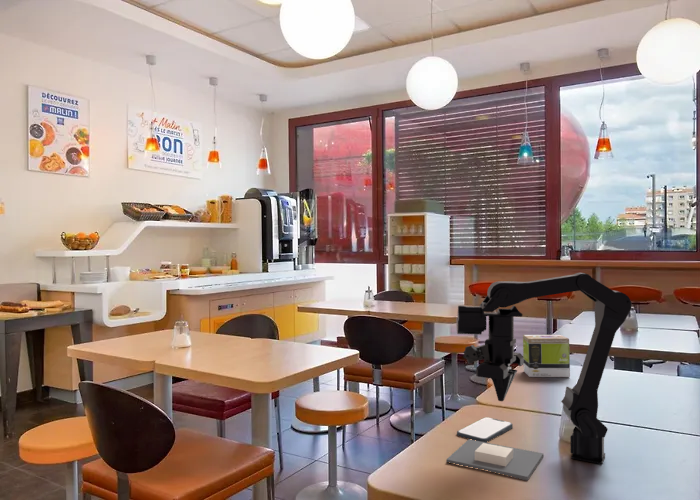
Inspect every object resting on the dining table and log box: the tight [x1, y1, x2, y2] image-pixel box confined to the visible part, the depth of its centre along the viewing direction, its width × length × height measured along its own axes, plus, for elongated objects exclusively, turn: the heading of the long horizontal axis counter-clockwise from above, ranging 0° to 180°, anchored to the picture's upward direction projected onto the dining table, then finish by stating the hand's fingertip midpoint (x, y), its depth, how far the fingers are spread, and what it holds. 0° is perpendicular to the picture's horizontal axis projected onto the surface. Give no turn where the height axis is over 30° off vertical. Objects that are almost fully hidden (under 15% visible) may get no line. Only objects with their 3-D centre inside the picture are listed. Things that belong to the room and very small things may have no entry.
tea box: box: [522, 334, 571, 378], centre depth 207 cm, size 15×10×15 cm, turn 84°
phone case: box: [456, 416, 514, 443], centre depth 144 cm, size 9×2×16 cm
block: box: [475, 442, 513, 466], centre depth 124 cm, size 7×2×6 cm
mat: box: [445, 439, 544, 481], centre depth 125 cm, size 18×15×1 cm
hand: (501, 400), depth 129 cm, fingers closed
